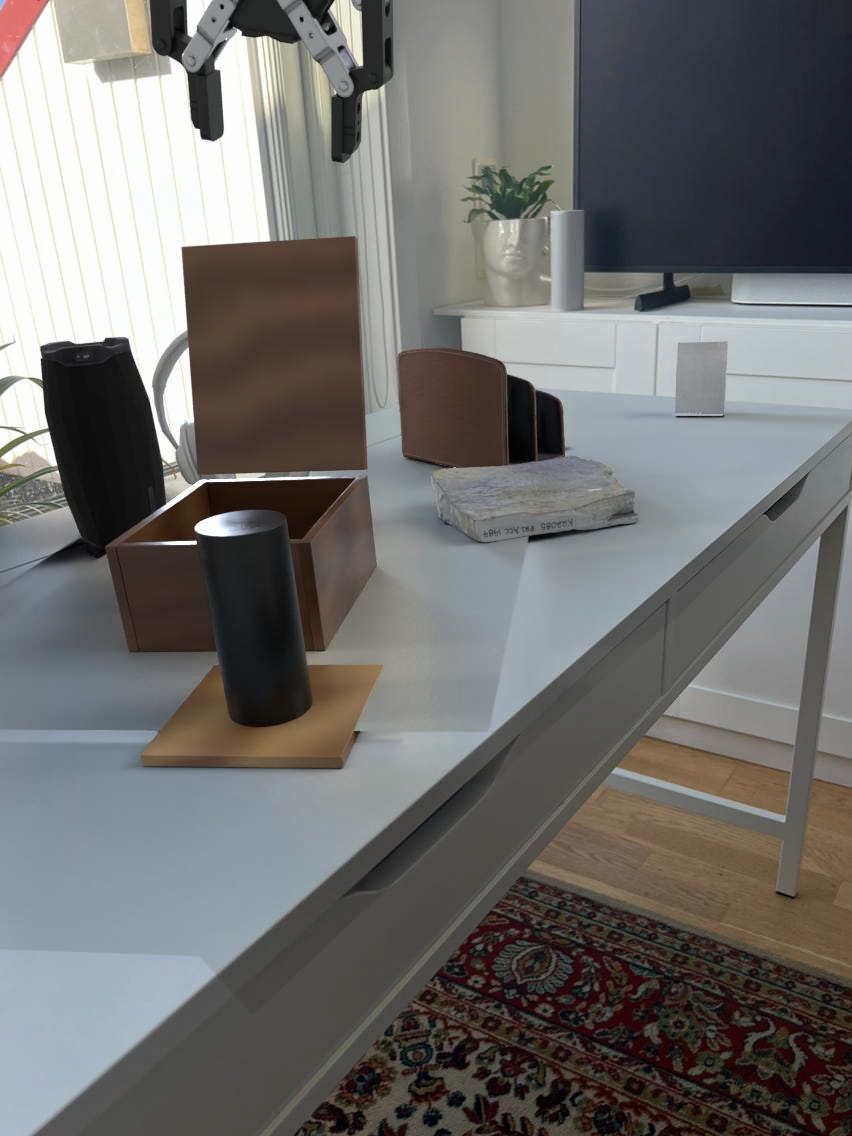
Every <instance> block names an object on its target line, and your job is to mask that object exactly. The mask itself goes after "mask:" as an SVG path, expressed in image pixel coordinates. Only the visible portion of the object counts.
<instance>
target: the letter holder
mask: <svg viewBox="0 0 852 1136" xmlns="http://www.w3.org/2000/svg"><path fill="white" fill-rule="evenodd" d="M396 363H397V365H396V366H397V381H398V383H397V384H398V407H399V420H400V421H399V423H400V437H401V438H400V440H401V454H402V456H403V458H406V457H409V458H408V459H412V458H413V459H412V460H416V461H421V460H423V461H422V462H426V461H427V462H426V463H430V462H433V463H432V464H434V463H437V464H436V465H438V464H442V465H441V466H443V465H446V466H445V467H447V466H450V467H449V468H451V467H456V468H467V467H486V466H506V465H514V464H522V463H528V462H538V461H544V460H551V459H557V458H562V457H566V439H565V438H566V437H565V422H564V406H563V403H562V400H560V398H558V397H557V396H555V395H553V394H551V393H549V392H546V391H542V390H538V389H536V388H535V386H534V385H533V383H532V382H530V381H529V380H527V379H524V378H521V377H518V376H515V375H512V374H508V370H507V367H506V365H505V363H504V362H503V361H502V360H500V359H497V358H495V357H492V356H488V355H486V354H482V353H478V352H474V351H468V350H465V349H464V350H463V349H457V348H453V347H452V348H451V347H421V348H411V349H405V350H402V351H399V353H398V354H397V357H396Z"/></svg>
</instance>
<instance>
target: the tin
mask: <svg viewBox="0 0 852 1136" xmlns="http://www.w3.org/2000/svg"><path fill="white" fill-rule="evenodd" d="M194 532H195V537H196V543H197V548H198V553H199V559H200V564H201V569H202V575H203V580H204V586H205V591H206V596H207V602H208V607H209V612H210V618H211V623H212V628H213V634H214V639H215V644H216V650H217V652H216V655H217V660H218V665H219V666H220V671H221V676H222V682H223V687H224V692H225V698H226V703H227V709H228V714H229V717H230V718H231V719H232V720H233V721H234V722H236V723H238V724H240V725H244V726H250V727H267V726H274V725H279V724H283V723H286V722H289V721H292V720H294V719H296V718H298V717H300V716H302V715H303V714H305V713H306V712H307V711H308V710H309V709H310V707H311V706H312V702H313V699H312V692H311V685H310V678H309V671H308V665H309V664H308V657H307V651H305V644H304V637H303V630H302V623H301V616H300V609H299V603H298V596H297V589H296V582H295V575H294V568H293V561H292V554H291V547H290V541H289V534H288V527H287V520H286V517H285V515H284V514H282V513H280V512H276V511H271V510H243V511H235V512H229V513H224V514H220V515H216V516H213V517H210V518H207V519H205V520H203V521H201V522H199V523H198V524H197V525H196V526H195V528H194Z"/></svg>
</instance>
